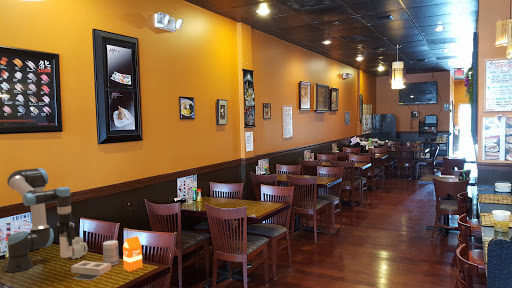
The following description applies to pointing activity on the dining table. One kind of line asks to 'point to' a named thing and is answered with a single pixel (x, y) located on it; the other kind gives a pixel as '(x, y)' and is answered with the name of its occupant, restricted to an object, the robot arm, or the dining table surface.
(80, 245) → the pitcher
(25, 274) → the dining table surface
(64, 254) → the white cylinder
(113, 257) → the supplement tub
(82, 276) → the phone
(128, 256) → the orange juice
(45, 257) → the dining table surface
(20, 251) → the robot arm
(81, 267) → the white flat tray
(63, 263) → the dining table surface
